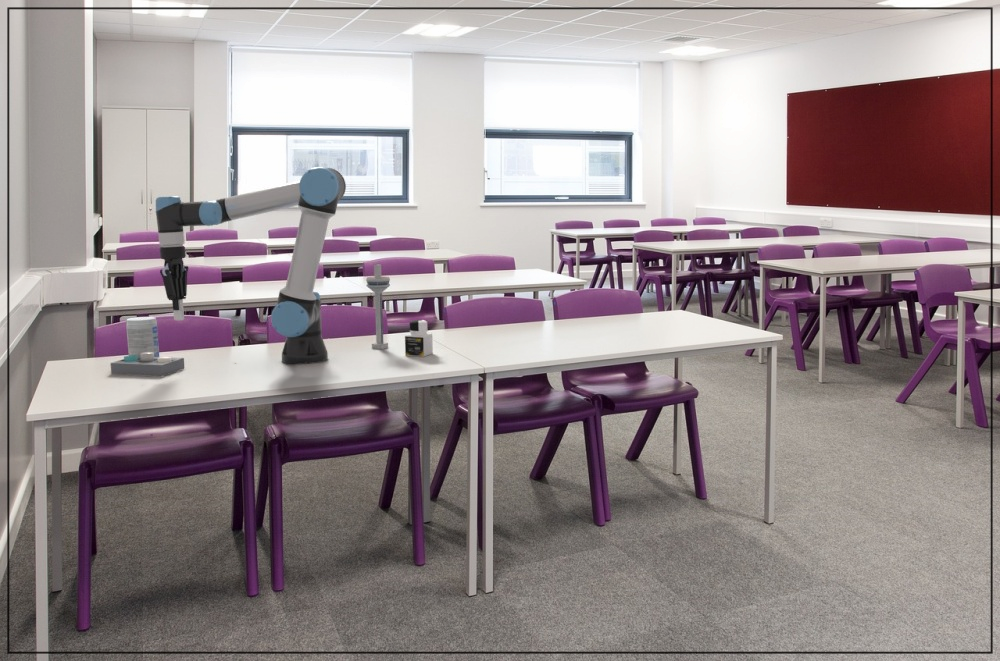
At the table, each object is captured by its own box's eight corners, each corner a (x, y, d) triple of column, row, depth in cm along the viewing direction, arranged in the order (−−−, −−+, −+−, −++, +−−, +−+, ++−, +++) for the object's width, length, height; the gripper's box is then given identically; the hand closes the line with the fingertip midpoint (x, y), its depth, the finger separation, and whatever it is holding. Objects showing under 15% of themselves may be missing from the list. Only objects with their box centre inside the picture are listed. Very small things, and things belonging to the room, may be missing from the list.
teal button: (140, 364, 285) (140, 355, 284) (133, 367, 281) (132, 357, 280) (129, 364, 286) (129, 355, 285) (121, 366, 282) (121, 357, 281)
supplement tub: (162, 362, 297) (159, 318, 294) (132, 365, 291) (129, 321, 289) (155, 357, 305) (152, 315, 302) (126, 361, 299) (123, 317, 297)
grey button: (157, 361, 283) (156, 352, 283) (149, 364, 279) (148, 354, 279) (146, 361, 284) (145, 351, 284) (138, 363, 280) (137, 354, 280)
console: (184, 368, 286) (183, 357, 285) (162, 376, 274) (161, 365, 274) (135, 366, 290) (134, 356, 289) (111, 374, 278) (110, 363, 278)
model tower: (383, 350, 315) (381, 266, 310) (363, 349, 318) (361, 265, 314) (396, 346, 322) (393, 264, 318) (376, 345, 326) (374, 263, 321)
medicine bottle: (405, 355, 305) (404, 321, 303) (414, 352, 311) (413, 318, 309) (423, 357, 302) (422, 322, 300) (433, 353, 309) (432, 319, 307)
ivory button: (174, 366, 282) (173, 356, 282) (166, 368, 278) (166, 359, 278) (163, 365, 283) (162, 356, 282) (155, 368, 279) (154, 358, 279)
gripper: (172, 244, 287) (179, 317, 291) (149, 247, 274) (157, 323, 278) (193, 244, 285) (200, 316, 289) (171, 247, 273) (179, 323, 277)
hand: (179, 319), depth 284 cm, fingers closed
